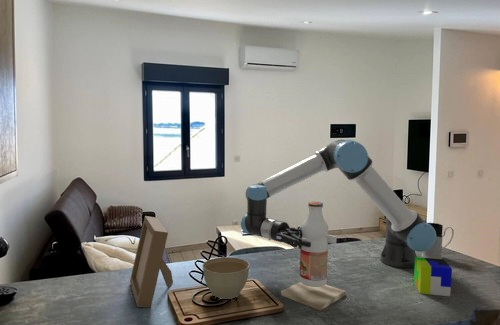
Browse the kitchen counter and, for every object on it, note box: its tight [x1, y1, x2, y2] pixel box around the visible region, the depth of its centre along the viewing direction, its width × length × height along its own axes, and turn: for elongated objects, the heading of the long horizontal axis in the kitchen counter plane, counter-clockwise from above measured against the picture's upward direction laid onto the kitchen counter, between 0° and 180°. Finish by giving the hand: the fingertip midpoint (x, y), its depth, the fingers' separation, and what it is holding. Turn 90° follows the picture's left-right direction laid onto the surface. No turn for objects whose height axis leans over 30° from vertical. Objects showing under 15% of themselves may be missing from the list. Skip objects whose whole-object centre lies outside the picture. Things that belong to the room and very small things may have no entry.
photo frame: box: [129, 215, 174, 308], centre depth 133 cm, size 15×22×25 cm
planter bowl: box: [202, 256, 251, 300], centre depth 133 cm, size 16×16×11 cm
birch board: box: [280, 281, 346, 312], centre depth 134 cm, size 16×16×2 cm
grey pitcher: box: [421, 222, 455, 259], centre depth 176 cm, size 9×14×15 cm, turn 96°
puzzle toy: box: [413, 256, 453, 297], centre depth 140 cm, size 10×10×10 cm
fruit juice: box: [298, 201, 329, 287], centre depth 132 cm, size 9×9×28 cm
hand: (328, 243), depth 128 cm, fingers closed on fruit juice, 9 cm apart
